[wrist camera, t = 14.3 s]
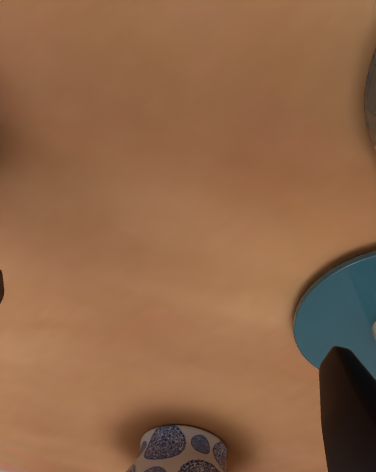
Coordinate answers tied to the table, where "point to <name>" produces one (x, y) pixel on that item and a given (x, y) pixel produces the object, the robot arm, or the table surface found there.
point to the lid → (340, 313)
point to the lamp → (180, 451)
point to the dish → (371, 101)
